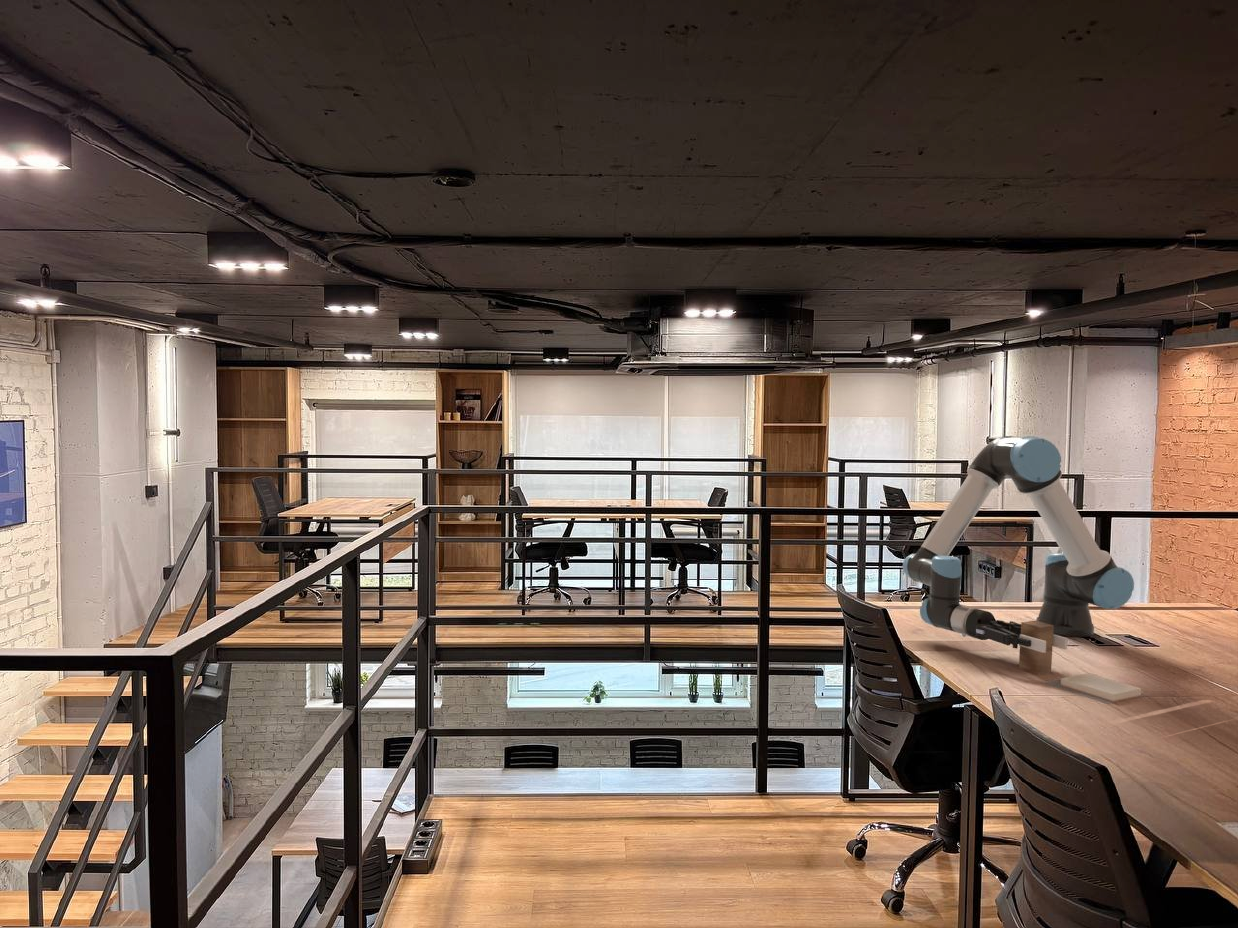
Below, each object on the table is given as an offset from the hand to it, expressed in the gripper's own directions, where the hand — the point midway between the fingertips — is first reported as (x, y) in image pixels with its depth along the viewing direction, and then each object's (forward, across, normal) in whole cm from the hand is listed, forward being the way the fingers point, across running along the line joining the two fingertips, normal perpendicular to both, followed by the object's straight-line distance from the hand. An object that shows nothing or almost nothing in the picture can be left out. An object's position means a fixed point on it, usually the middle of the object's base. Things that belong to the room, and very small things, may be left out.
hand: (1055, 645), depth 194 cm
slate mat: (+10, 0, -8) cm, 13 cm away
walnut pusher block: (-5, 0, -8) cm, 9 cm away
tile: (+5, 0, -6) cm, 8 cm away
